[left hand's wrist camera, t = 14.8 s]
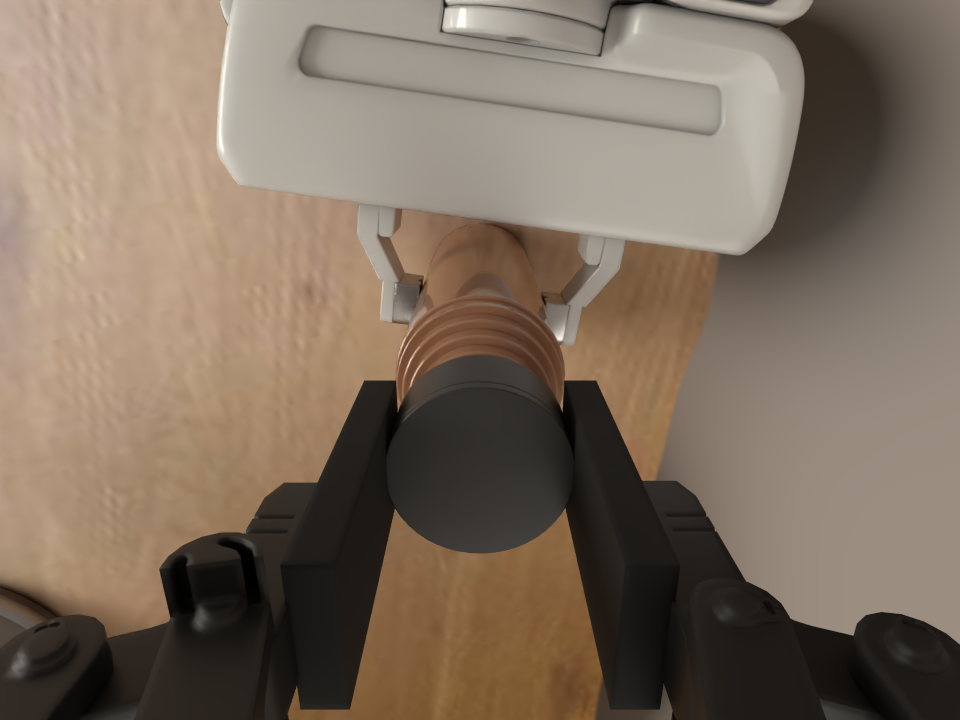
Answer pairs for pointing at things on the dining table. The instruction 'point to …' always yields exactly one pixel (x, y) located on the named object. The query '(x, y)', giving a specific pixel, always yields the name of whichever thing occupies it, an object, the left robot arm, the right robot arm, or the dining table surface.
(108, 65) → the dining table surface
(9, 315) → the dining table surface
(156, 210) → the dining table surface
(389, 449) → the cap
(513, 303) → the bottle
